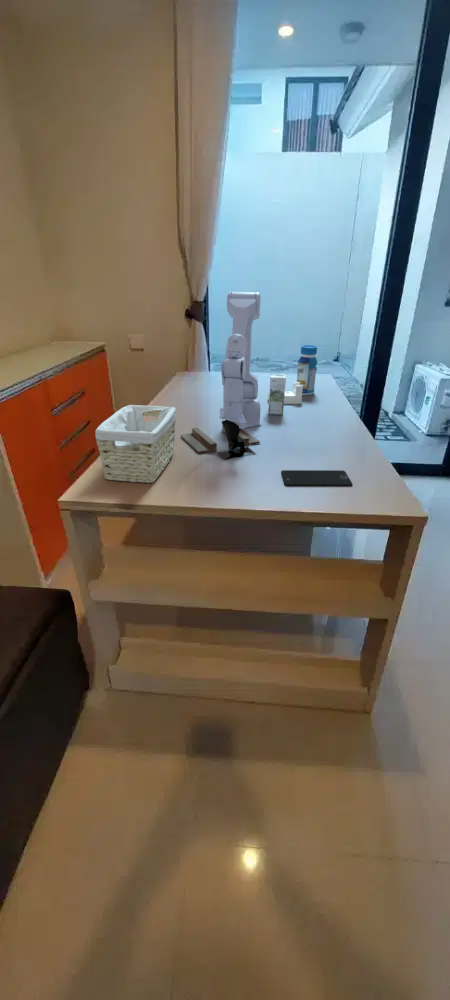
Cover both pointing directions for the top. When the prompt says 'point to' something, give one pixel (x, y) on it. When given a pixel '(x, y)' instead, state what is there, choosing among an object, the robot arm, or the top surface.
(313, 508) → the top surface
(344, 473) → the cell phone
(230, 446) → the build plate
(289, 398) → the bracket
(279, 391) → the syrup box
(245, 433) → the wooden stepped rails
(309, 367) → the beverage bottle
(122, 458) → the storage basket
